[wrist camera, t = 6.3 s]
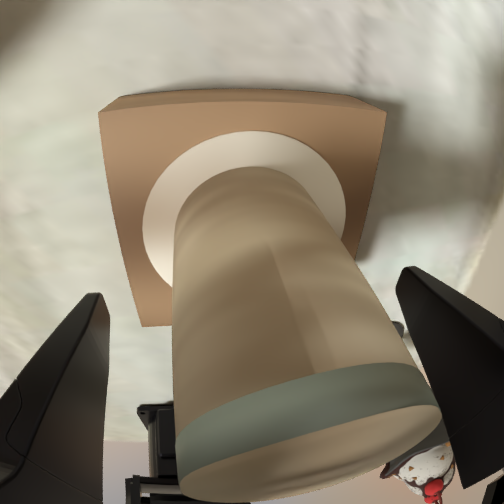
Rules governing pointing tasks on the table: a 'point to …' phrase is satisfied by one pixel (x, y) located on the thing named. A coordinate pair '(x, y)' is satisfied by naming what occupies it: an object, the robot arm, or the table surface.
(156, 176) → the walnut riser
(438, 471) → the sundae
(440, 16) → the table surface
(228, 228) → the birch cylinder
